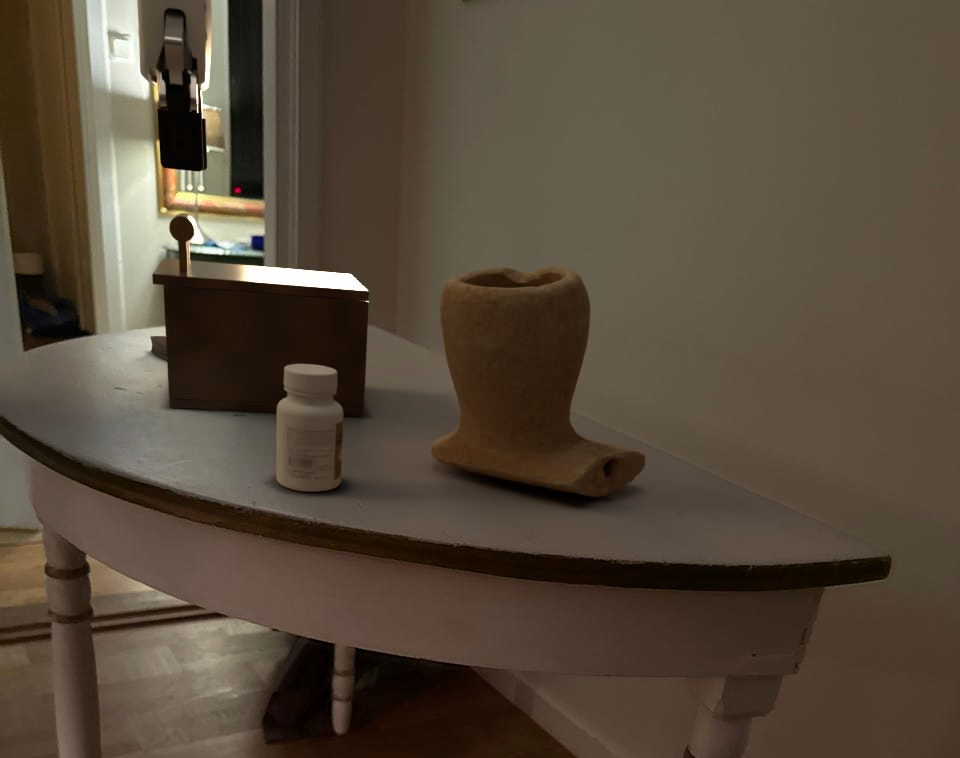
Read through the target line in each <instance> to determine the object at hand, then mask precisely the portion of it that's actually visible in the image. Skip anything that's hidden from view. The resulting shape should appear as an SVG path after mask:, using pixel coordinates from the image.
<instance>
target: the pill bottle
mask: <svg viewBox="0 0 960 758" xmlns="http://www.w3.org/2000/svg"><path fill="white" fill-rule="evenodd" d="M283 384H284V386H285V387H284V390H285V391H287V397H286V398H284V399H282V400H281V401H280V402H279V403H278V405H277V413H276V415H275V416H276V418H275V419H276V420H275V421H276V425H275V426H276V427H275V429H276V432H275V433H276V437H275V438H276V441H275V443H276V444H275V445H276V447H275V448H276V451H275V452H276V453H275V456H276V457H275V458H276V459H275V469H276V470H275V471H276V472H275V477H276V481H277V483H278V484H280V485H281V486H282V487H284V488H287V489H290V490H294V491H299V492H308V493H311V492H312V493H314V492H324V491H331V490H333V489H335V488H337V487H339V486H340V484H341V483H342V466H343V465H342V464H343V437H344V436H343V435H344V416H343V409H342V407H341V405H340V404H339V403H337V402H336V401H334V400H333V395H334V394H336V393H337V391H336V389H337V371H336V370H335V369H333V368H330V367H326V366H321V365H313V364H292V365H287V366H285V368H284V383H283Z"/></svg>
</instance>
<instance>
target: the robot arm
mask: <svg viewBox="0 0 960 758" xmlns="http://www.w3.org/2000/svg"><path fill="white" fill-rule="evenodd" d="M136 1H137V3H136V4H137V21H138V42H139V43H138V46H139V49H138V50H139V72H140V75H141V76H142V77H143V78H144V79H145V80H146V81H147V82H148V83H149V84H150V85H151V86H153V87H157V86H158V101H159V108H157V128H158V144H159V146H158V147H159V160H160V161H159V162H160V165H161V167H162V168H164V169H167V170H178V171H188V172H202V171H206V170H207V169H208V144H207V124H206V123H207V119H206V118H204V111H203V109H204V107H203V93H202V92H205V91H207V89H208V88H210V87H209V86H210V74H211V62H212V61H211V60H212V37H213V36H212V32H213V31H212V30H213V29H212V28H213V27H212V24H213V23H212V19H213V18H212V17H213V16H212V15H213V13H212V0H136Z"/></svg>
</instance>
